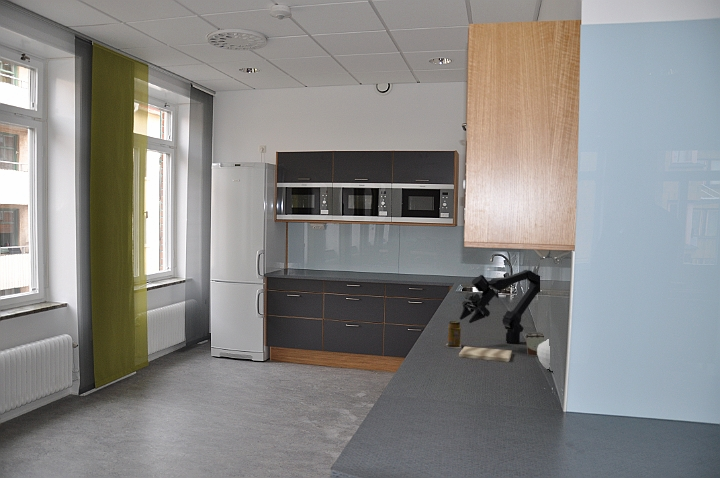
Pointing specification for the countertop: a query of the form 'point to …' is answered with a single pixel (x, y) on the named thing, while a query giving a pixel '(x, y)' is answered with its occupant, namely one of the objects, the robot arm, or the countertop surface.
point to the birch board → (485, 354)
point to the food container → (533, 342)
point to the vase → (544, 353)
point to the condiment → (454, 335)
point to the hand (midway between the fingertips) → (464, 320)
